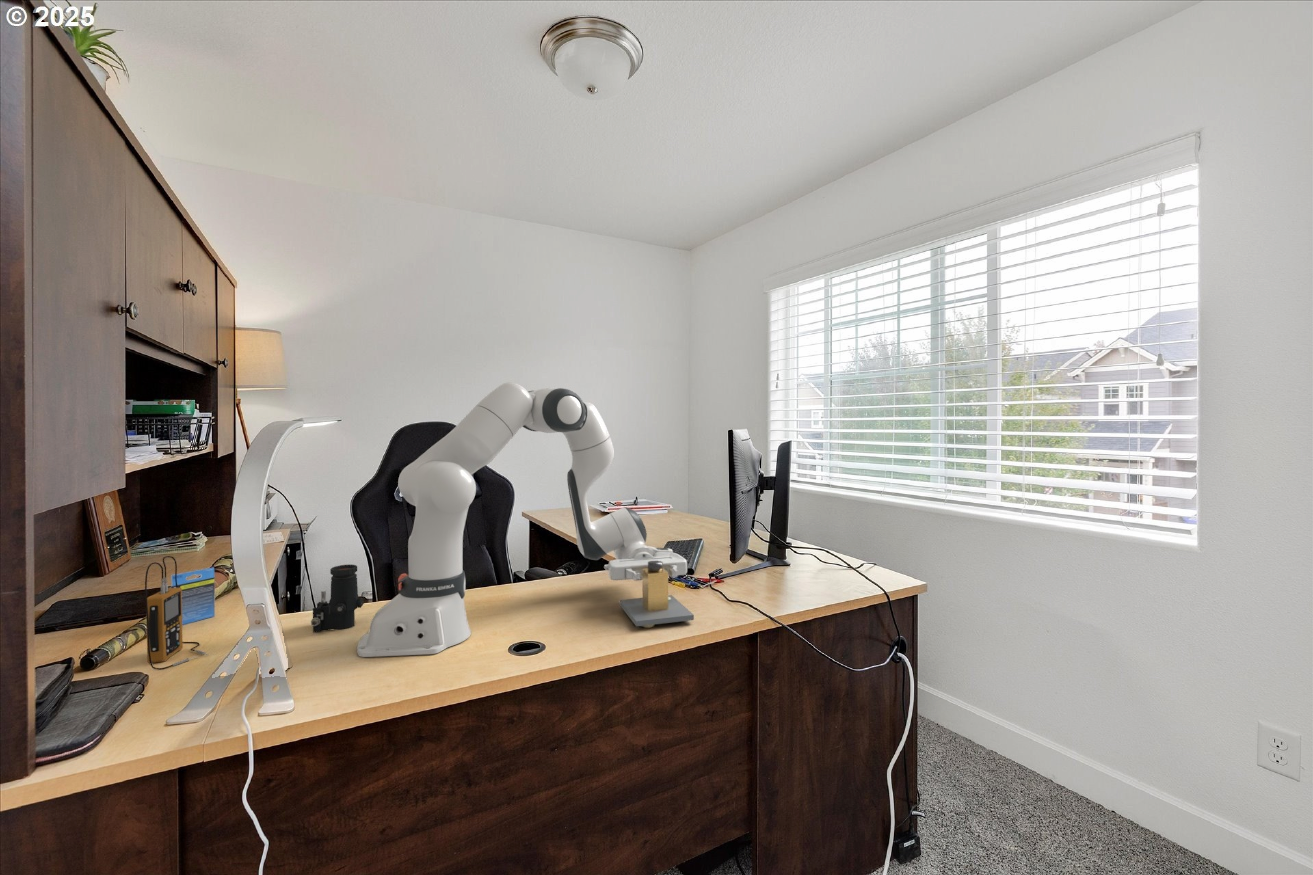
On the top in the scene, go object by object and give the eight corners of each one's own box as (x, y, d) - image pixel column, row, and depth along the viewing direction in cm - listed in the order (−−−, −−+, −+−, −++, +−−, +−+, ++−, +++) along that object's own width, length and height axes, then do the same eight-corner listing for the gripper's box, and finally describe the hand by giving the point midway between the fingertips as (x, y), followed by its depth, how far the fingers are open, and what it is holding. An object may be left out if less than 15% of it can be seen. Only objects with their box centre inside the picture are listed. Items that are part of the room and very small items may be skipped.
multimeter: (198, 666, 108) (196, 563, 108) (135, 672, 105) (132, 567, 105) (231, 638, 122) (230, 547, 122) (177, 643, 120) (175, 550, 119)
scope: (319, 564, 132) (366, 561, 134) (320, 622, 132) (367, 618, 135) (308, 573, 124) (358, 570, 126) (309, 635, 124) (359, 630, 127)
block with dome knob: (648, 611, 133) (648, 565, 133) (642, 604, 138) (642, 560, 138) (668, 609, 135) (668, 564, 135) (661, 602, 140) (661, 559, 139)
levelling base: (636, 630, 127) (636, 619, 127) (619, 608, 142) (619, 598, 142) (693, 624, 131) (693, 613, 131) (671, 603, 146) (671, 593, 146)
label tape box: (206, 614, 138) (206, 564, 138) (216, 616, 136) (215, 566, 136) (163, 625, 130) (162, 573, 130) (172, 628, 128) (171, 575, 128)
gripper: (602, 553, 145) (614, 565, 132) (676, 548, 152) (695, 559, 138) (602, 577, 146) (614, 592, 132) (676, 571, 152) (694, 585, 139)
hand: (656, 575), depth 135 cm, fingers open, 8 cm apart
